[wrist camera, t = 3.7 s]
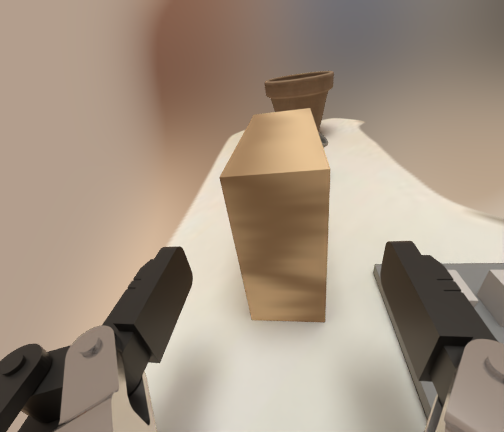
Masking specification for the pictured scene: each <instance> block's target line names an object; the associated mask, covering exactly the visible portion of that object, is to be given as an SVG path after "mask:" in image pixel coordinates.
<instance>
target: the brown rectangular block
mask: <svg viewBox="0 0 504 432" xmlns="http://www.w3.org/2000/svg"><path fill="white" fill-rule="evenodd" d="M220 182H221V186H222V190H223V195H224V199H225V204H226V208H227V212H228V217H229V221H230V226H231V230H232V234H233V239H234V243H235V248H236V252H237V256H238V261H239V265H240V270H241V274H242V278H243V283H244V287H245V292H246V296H247V300H248V305H249V309H250V314H251V318H252V320H267V321H299V322H325V307H326V278H327V249H328V221H329V192H330V167H329V164H328V161H327V158H326V155H325V151H324V148H323V145H322V142H321V139H320V136H319V133H318V130H317V127H316V124H315V121H314V118H313V115H312V112H311V109H310V108H306V109H297V110H289V111H281V112H273V113H264V114H256V115H253V117H252V119H251V121H250V123H249V124H248V127H247V128H246V130H245V132H244V134H243V135H242V137H241V139H240V141H239V143H238V145H237V146H236V148H235V150H234V152H233V154H232V156H231V157H230V159H229V161H228V163H227V165H226V167H225V168H224V170H223V172H222V174H221V176H220Z"/></svg>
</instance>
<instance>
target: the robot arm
mask: <svg viewBox="0 0 504 432" xmlns="http://www.w3.org/2000/svg"><path fill="white" fill-rule="evenodd" d="M380 278H381V285H382V288H383V291H384V293H385V296H386V298H387V301H388V304H389V306H390V309H391V311H392V314H393V317H394V319H395V322H396V324H397V327H398V329H399V332H400V335H401V337H402V340H403V342H404V345H405V348H406V350H407V353H408V355H409V358H410V360H411V363H412V366H413V368H414V371H415V373H416V376H417V379H418V381H428V382H433V385H434V387H435V389H436V392H437V395H436V397H435V400H434V403H433V406H432V409H431V412H430V415H429V418H428V421H427V424H426V427H425V430H424V432H504V344H502V343H500V342H498V341H497V339H496V338H495V337H494V335H493V334H492V333H491V331H490V330H489V328H488V327H487V326H486V324H485V323H484V321H483V320H482V318H481V317H480V316H479V314H478V313H477V311H476V310H475V309H474V307H473V306H472V304H471V303H470V302H469V300H468V299H467V297H466V296H465V294H464V293H462V292H461V289H460V287H459V286H458V285H457V283H456V282H454V281H453V278H452V276H451V275H450V273H449V272H448V270H447V269H446V268H445V266H444V265H442V264H441V263H440V262H438V261H437V260H436V259H434V258H433V257H432V256H430V255H421V254H420V252H419V250H418V249H417V247H416V246H415V244H414V243H413V242H412V241H389V242H387V243H386V246H385V251H384V256H383V261H382V266H381V272H380ZM192 280H193V276H192V271H191V268H190V266H189V263H188V261H187V258H186V255H185V253H184V250H183V248H182V247H163V248H161V249H160V251H159V252H158V254H157V255H156V257H155V258H154V259H151V260H150V261H149V262H147V263H146V264H145V265H144V266H143V267H142V268H140V270H139V272H138V273H137V274H136V276H135V277H134V281H132V282H131V284H130V285H129V286H128V289H127V290H126V291H125V292H124V294H123V295H122V297H121V298H120V300H119V301H118V303H117V304H116V305H115V307H114V309H113V310H112V311H111V313H110V314H109V316H108V317H107V319H106V320H105V322H104V323H103V325H102V326H97V327H94V328H92V329H90V330H88V331H86V332H85V333H83V334H82V335H81V336H79V337H78V338H77V339H76V340H75V341H74V342H73V344H72V345H71V346H67V347H63V348H60V349H57V350H53V351H49V352H46V351H45V350H44V349H43V348H42V347H41V346H40V345H38V344H28V345H25V346H23V347H20V348H18V349H16V350H15V351H13V352H11V353H10V354H8V355H7V356H6V357H5V358H4V359H2V360H1V361H0V432H6V431H7V430H8V428H9V427H10V425H11V424H12V423H13V421H14V420H15V418H16V417H17V415H18V414H19V412H20V411H22V412H24V413H25V414H27V415H28V417H27V419H26V420H25V422H24V423H23V425H22V426H21V428H20V429H19V431H18V432H158V431H157V428H156V424H155V419H154V413H153V408H152V403H151V398H150V393H149V387H148V382H147V377H146V373H145V372H144V370H145V368H146V366H147V364H148V362H151V363H160V362H161V359H162V357H163V354H164V352H165V349H166V347H167V345H168V342H169V340H170V337H171V335H172V332H173V330H174V327H175V325H176V323H177V320H178V318H179V315H180V313H181V310H182V308H183V305H184V303H185V301H186V298H187V296H188V293H189V291H190V288H191V286H192Z"/></svg>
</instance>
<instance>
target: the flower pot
mask: <svg viewBox="0 0 504 432" xmlns="http://www.w3.org/2000/svg"><path fill="white" fill-rule="evenodd" d="M333 76H334V72H332V71H320V72H310V73H302V74H295V75H289V76H284V77H278V78H273V79H269V80H267V81H265V90H266V96H267V97H269V98H271V101H272V104H273V107H274V110H275V112H281V111H289V110H297V109H306V108H310V109H311V112H312V115H313V118H314V121H315V124H316V127H317V130H318V131H319V128H320V124H321V120H322V115H323V111H324V106H325V102H326V97H327V94H328V91H329V90H330V89H331V88H332V87H333Z"/></svg>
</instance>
